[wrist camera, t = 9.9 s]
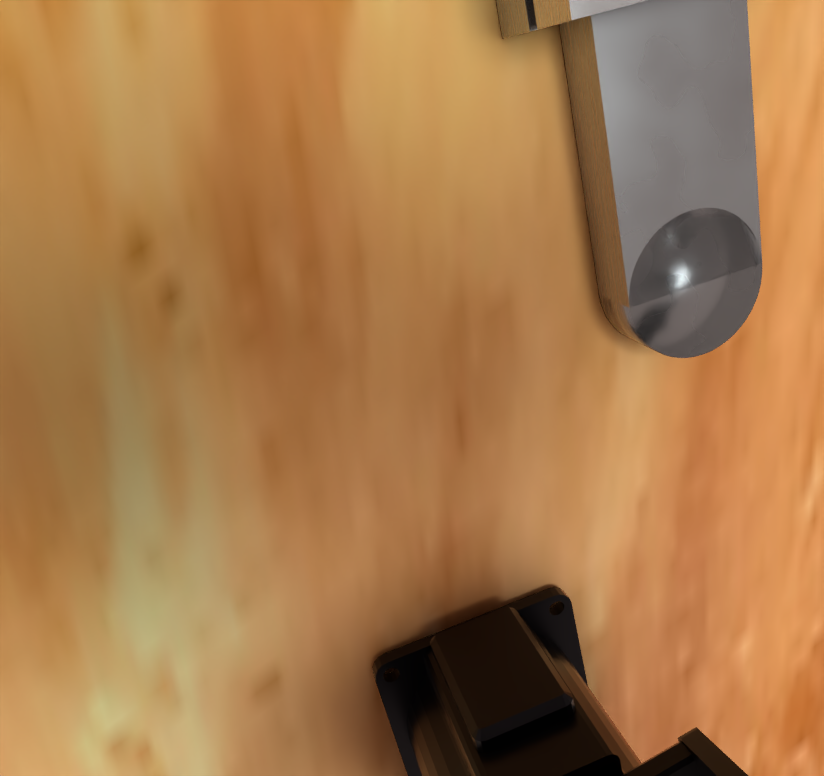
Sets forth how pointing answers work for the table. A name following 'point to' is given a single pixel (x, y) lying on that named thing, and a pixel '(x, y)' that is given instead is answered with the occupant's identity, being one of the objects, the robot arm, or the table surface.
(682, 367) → the table surface
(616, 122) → the lower strap
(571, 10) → the strap
